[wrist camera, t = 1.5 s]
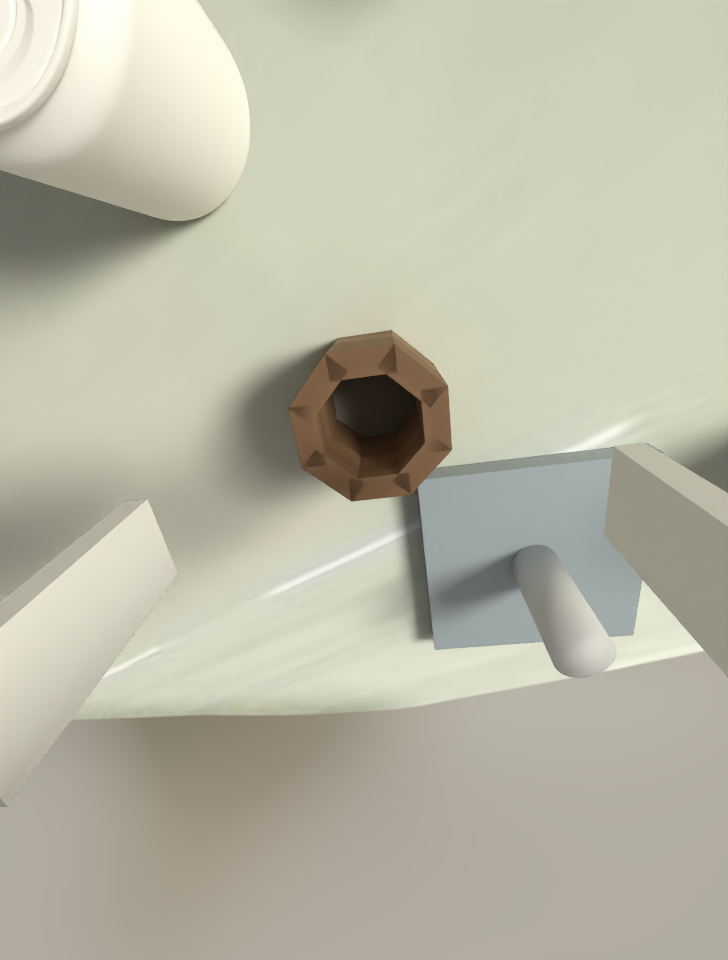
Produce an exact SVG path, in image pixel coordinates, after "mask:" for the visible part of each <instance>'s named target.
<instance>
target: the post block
mask: <svg viewBox="0 0 728 960" xmlns="http://www.w3.org/2000/svg"><path fill="white" fill-rule="evenodd" d="M647 445H649V446H651V445H650V444H648V443H647ZM651 447H652V448H654V449H656V450H657V451H659V452H661V453H662V454H663V452H662V451H660V450H658V449H657V448H655V447H653V446H651ZM612 456H613V448H604V449H596V450H587V451H578V452H570V453H561V454H553V455H544V456H536V457H527V458H519V459H510V460H502V461H493V462H485V463H476V464H467V465H459V466H450V467H442V468H435V469H434V470H433V471H432V472H431V474H430V475H429V476H428V477H427V478H426V479H425V480H424V481H423V482H422V483H421V485H420V486H419V487H418V488H417V489H418V498H419V508H420V517H421V527H422V537H423V546H424V556H425V565H426V575H427V585H428V594H429V604H430V614H431V623H432V633H433V640H434V647H435V650H439V649H452V648H466V647H479V646H493V645H506V644H520V643H533V642H544V644H545V646H546V649H547V651H548V653H549V655H550V658H551V660H552V662H553V664H554V666H555V668H556V669H557V670H558V671H559V672H560V673H562V674H564V675H566V676H569V677H575V678H581V677H582V678H583V677H590V676H593V675H596V674H598V673H600V672H602V671H604V670H605V669H607V668H608V667H609V666H610V665H611V664H612V663H613V661H614V659H615V656H616V647H615V645H614V643H613V642H612V640H611V639H610V637H615V636H628V635H633V633H634V627H635V621H636V615H637V609H638V602H639V596H640V590H641V584H642V578H641V577H640V576H639V575H638V574H637V573H636V571H635V570H634V569H633V568H632V567H631V566H630V565H629V563H628V562H627V561H626V560H625V559H624V558H623V557H622V555H621V554H620V553H619V552H618V551H617V550H616V549H615V547H614V546H613V545H612V544H611V543H610V542H609V540H608V539H607V538H606V537H605V536H604V530H605V521H606V511H607V502H608V493H609V483H610V474H611V465H612Z"/></svg>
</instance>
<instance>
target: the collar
mask: <svg viewBox="0 0 728 960" xmlns="http://www.w3.org/2000/svg"><path fill="white" fill-rule="evenodd" d="M382 374H387V375H388V376H390V377H391V378H392V379H393V380H395V381H396V382H397V383H399V384H400V385H401V386H402V387H404V388H405V389H406V390H408V391H409V392H410V393H412V394H413V395H414V396H415V404H416V409H415V410H414V412H413V413H412V414H411V415H410V417H409V418H408V419H407V420H406V421H405V423H404V424H403V425H402V426H401V428H400V429H399V430H398V431H397V432H396V434H391V435H383V436H375V437H367V438H362V437H361V436H360V435H358V434H357V433H356V432H354V431H353V430H351V429H350V428H349V427H347V426H346V425H344V424H343V423H342V422H340V421H339V420H337V417H336V411H335V406H334V400H333V395H332V392H333V391H334V390H335V388H336V387H337V385H338V384H339V383H340V381H341V380H346V379H353V378H361V377H368V376H375V375H382ZM288 410H289V414H290V418H291V423H292V427H293V431H294V436H295V440H296V445H297V449H298V453H299V458H300V462H301V467H302V468H303V469H304V470H306V471H307V472H309V473H310V474H312V475H313V476H315V477H316V478H318V479H319V480H320V481H322V482H323V483H325V484H326V485H328V486H329V487H331V488H332V489H334V490H335V491H337V492H338V493H340V494H341V495H343V496H344V497H346V498H347V499H349V500H350V501H360V500H369V499H378V498H387V497H396V496H405V495H412V493H413V492H414V491H415V490H416V489H417V488H418V487H419V486H420V485H421V483H422V482H423V481H424V480H425V479H426V478H427V477H428V476H429V475H430V474H431V472H432V471H433V470H434V469H435V468H436V467H437V466H438V465H439V464H440V462H441V461H442V460H443V459H444V458H445V457H446V456H447V455H448V454H449V453H450V451H451V450H452V443H451V427H450V411H449V395H448V386H447V384H446V382H445V381H444V379H443V378H442V376H441V375H440V373H439V372H438V370H437V369H436V367H435V366H434V364H433V363H432V362H431V361H429V360H428V359H427V358H426V357H424V356H423V355H422V354H421V353H419V352H418V351H417V350H416V349H414V348H413V347H412V346H411V345H409V344H408V343H407V342H406V341H404V340H403V339H402V338H401V337H400V336H398V335H397V334H396V333H395V332H393V331H392V330H390V331H383V332H376V333H370V334H363V335H357V336H350V337H343V338H338V339H337V341H336V342H335V343H334V344H333V345H332V346H331V347H330V349H329V350H328V351H327V352H326V353H325V355H324V356H323V358H322V359H321V361H320V362H319V364H318V365H317V366H316V368H315V369H314V371H313V372H312V374H311V375H310V377H309V378H308V380H307V381H306V383H305V384H304V386H303V387H302V389H301V390H300V392H299V393H298V394H297V396H296V397H295V399H294V400H293V402H292V403H291V405H290V406H289V408H288Z"/></svg>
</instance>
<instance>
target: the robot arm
mask: <svg viewBox="0 0 728 960" xmlns="http://www.w3.org/2000/svg"><path fill="white" fill-rule="evenodd" d="M604 536H605V537H606V538H607V539H608V540H609V542H610V543H611V544H612V545H613V546H614V547H615V549H616V550H617V551H618V552H619V553H620V554H621V555H622V557H623V558H624V559H625V560H626V561H627V562H628V563H629V565H630V566H631V567H632V568H633V569H634V570H635V571H636V573H637V574H638V575H639V576H640V577H641V578H642V579H643V581H644V582H645V583H646V584H647V585H648V586H649V587H650V589H651V590H652V591H653V592H654V593H655V594H656V595H657V597H658V598H659V599H660V600H661V601H662V602H663V603H664V605H665V606H666V607H667V608H668V609H669V610H670V611H671V613H672V614H673V615H674V616H675V617H676V618H677V619H678V621H679V622H680V623H681V624H682V625H683V626H684V628H685V629H686V630H687V631H688V632H689V633H690V634H691V636H692V637H693V638H694V639H695V640H696V641H697V642H698V644H699V645H700V646H701V647H702V648H703V649H704V650H705V652H706V653H707V654H708V655H709V656H710V657H711V658H712V659H713V661H714V662H715V663H716V664H717V665H718V666H719V668H721V670H722V671H723V672H724V673H725V674H726V676H728V493H727V492H725V491H724V490H722V489H720V488H719V487H717V486H715V485H714V484H712V483H710V482H709V481H707V480H705V479H704V478H702V477H700V476H699V475H697V474H695V473H694V472H692V471H691V470H689V469H687V468H686V467H684V466H682V465H681V464H679V463H677V462H676V461H674V460H672V459H671V458H669V457H667V456H666V455H664V454H662V453H661V452H659V451H657V450H656V449H654V448H652V447H651V446H649V445H647V444H646V443H638V444H629V445H620V446H613V456H612V465H611V474H610V483H609V493H608V502H607V511H606V521H605V530H604ZM177 575H178V572H177V570H176V568H175V565H174V563H173V560H172V558H171V555H170V553H169V550H168V548H167V546H166V543H165V541H164V538H163V536H162V533H161V531H160V528H159V526H158V523H157V521H156V519H155V516H154V514H153V511H152V509H151V506H150V504H149V501H148V499H144V500H135V501H126V502H123V503H122V504H120V505H119V506H118V507H117V508H115V509H114V510H113V511H112V512H110V513H109V514H108V515H107V516H106V517H104V518H103V519H102V520H101V521H99V522H98V523H97V524H96V525H94V526H93V527H92V528H91V529H89V530H88V531H87V532H86V533H84V534H83V535H82V536H81V537H80V538H78V539H77V540H76V541H75V542H73V543H72V544H71V545H70V546H68V547H67V548H66V549H65V550H63V551H62V552H61V553H60V554H58V555H57V556H56V557H55V558H54V559H52V560H51V561H50V562H49V563H47V564H46V565H45V566H44V567H42V568H41V569H40V570H39V571H37V572H36V573H35V574H34V575H32V576H31V577H30V578H29V579H27V580H26V581H25V582H24V583H23V584H21V585H20V586H19V587H18V588H16V589H15V590H14V591H13V592H11V593H10V594H9V595H8V596H6V597H5V598H4V599H3V600H1V601H0V807H6V806H8V805H9V804H10V802H11V801H12V800H13V798H14V797H15V796H16V794H17V793H18V791H19V790H20V789H21V787H22V786H23V785H24V783H25V782H26V781H27V779H28V778H29V777H30V775H31V774H32V772H33V771H34V770H35V768H36V767H37V766H38V764H39V763H40V762H41V760H42V759H43V757H44V756H45V755H46V753H47V752H48V750H49V749H50V748H51V747H52V745H53V744H54V742H55V741H56V740H57V738H58V737H59V736H60V734H61V733H62V732H63V730H64V729H65V728H66V726H67V725H68V723H69V722H70V721H71V719H72V718H73V717H74V715H75V714H76V713H77V711H78V710H79V708H80V707H81V706H82V704H83V703H84V702H85V700H86V699H87V698H88V696H89V695H90V693H91V692H92V691H93V689H94V688H95V687H96V685H97V684H98V683H99V681H100V680H101V679H102V677H103V676H104V674H105V673H106V672H107V670H108V669H109V668H110V666H111V665H112V664H113V662H114V661H115V659H116V658H117V657H118V655H119V654H120V653H121V651H122V650H123V649H124V647H125V646H126V644H127V643H128V642H129V640H130V639H131V638H132V636H133V635H134V634H135V632H136V631H137V630H138V628H139V627H140V625H141V624H142V623H143V621H144V620H145V619H146V617H147V616H148V615H149V613H150V612H151V610H152V609H153V608H154V606H155V605H156V604H157V602H158V601H159V600H160V598H161V597H162V595H163V594H164V593H165V591H166V590H167V589H168V587H169V586H170V585H171V583H172V582H173V581H174V579H175V578H176V576H177Z"/></svg>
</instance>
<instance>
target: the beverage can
mask: <svg viewBox="0 0 728 960" xmlns="http://www.w3.org/2000/svg"><path fill="white" fill-rule="evenodd" d="M249 142H250V115H249V107H248V101H247V96H246V92H245V88H244V84H243V81H242V78H241V75H240V73H239V70H238V68H237V66H236V63H235V61H234V59H233V57H232V55H231V53H230V52H229V50H228V48H227V46H226V45H225V43H224V42H223V40H222V39H221V37H220V35H219V34H218V32H217V31H216V29H215V28H214V26H213V25H212V23H211V22H210V20H209V19H208V17H207V15H206V14H205V12H204V11H203V9H202V8H201V6H200V5H199V3H198V2H197V0H0V170H1V171H5V172H8V173H11V174H15V175H18V176H21V177H24V178H28V179H31V180H34V181H37V182H41V183H44V184H47V185H51V186H54V187H57V188H60V189H64V190H67V191H70V192H74V193H77V194H80V195H83V196H87V197H90V198H93V199H96V200H100V201H103V202H106V203H110V204H113V205H116V206H119V207H123V208H126V209H129V210H132V211H136V212H139V213H142V214H146V215H149V216H152V217H156V218H159V219H164V220H170V221H186V220H192V219H196V218H199V217H202V216H204V215H206V214H208V213H210V212H212V211H213V210H215V209H216V208H217V207H219V206H220V205H221V204H222V203H223V202H224V201H225V200H226V199H227V198H228V197H229V195H230V194H231V193H232V191H233V190H234V188H235V187H236V185H237V183H238V181H239V179H240V177H241V175H242V172H243V169H244V166H245V163H246V159H247V155H248V150H249Z"/></svg>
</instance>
